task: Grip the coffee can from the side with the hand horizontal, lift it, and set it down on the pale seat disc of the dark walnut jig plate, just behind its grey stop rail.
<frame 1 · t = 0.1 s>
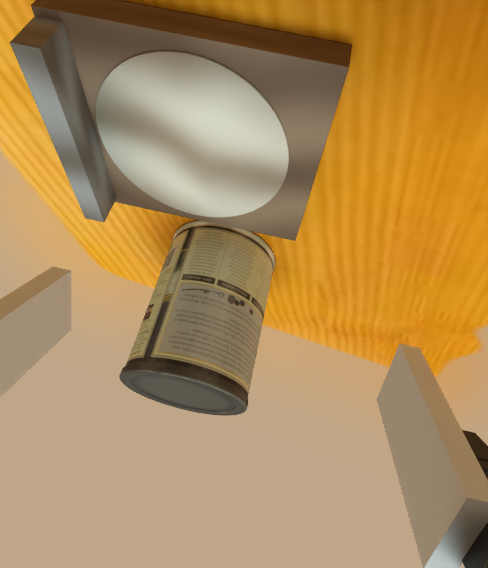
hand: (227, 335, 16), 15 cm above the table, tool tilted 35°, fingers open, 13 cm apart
jig plate: (201, 129, 26), on the table
coffee can: (224, 252, 38), on the table
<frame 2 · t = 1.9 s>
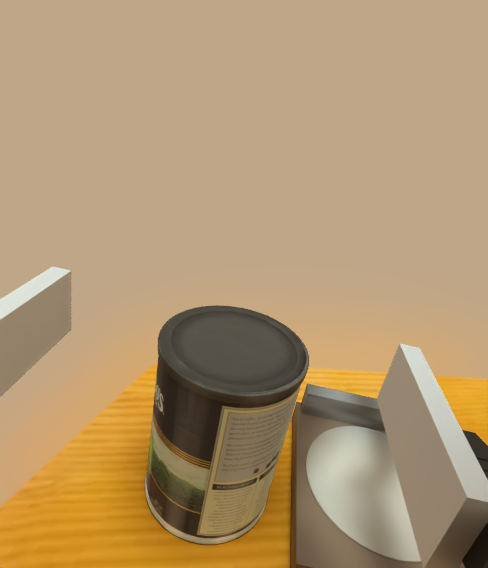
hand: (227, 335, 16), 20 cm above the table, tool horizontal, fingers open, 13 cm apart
jig plate: (371, 499, 34), on the table
coffee can: (207, 484, 33), on the table
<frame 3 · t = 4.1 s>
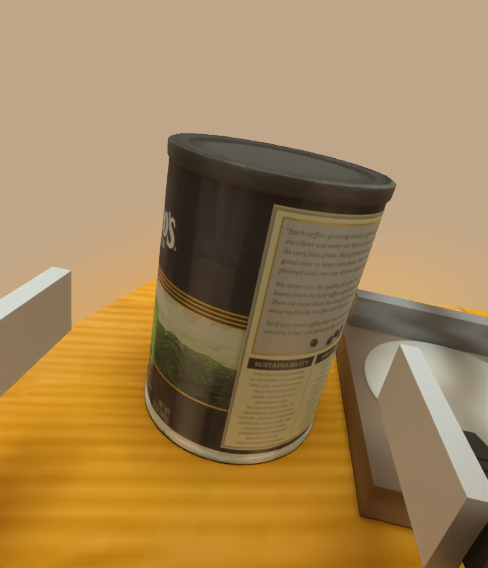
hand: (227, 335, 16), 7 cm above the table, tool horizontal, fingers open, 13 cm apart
jig plate: (452, 425, 25), on the table
coffee can: (230, 397, 24), on the table
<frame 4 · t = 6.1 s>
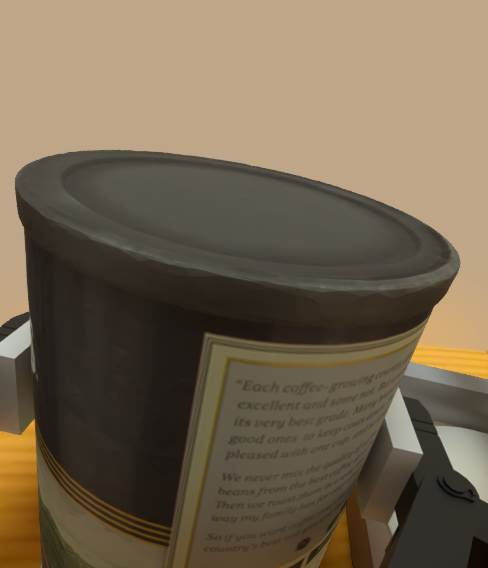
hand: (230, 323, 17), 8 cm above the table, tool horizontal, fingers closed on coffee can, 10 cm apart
coffee can: (182, 542, 16), on the table, touching gripper
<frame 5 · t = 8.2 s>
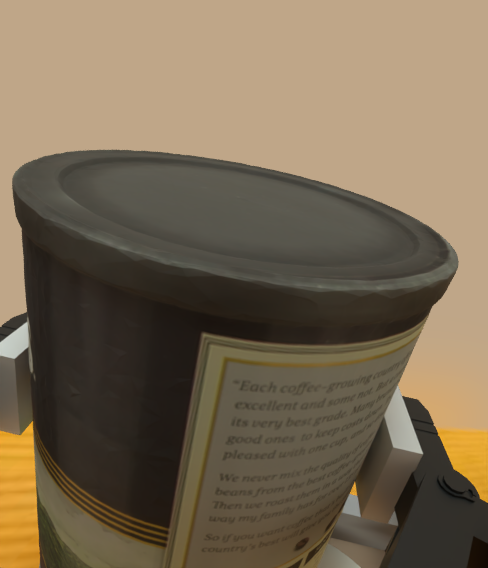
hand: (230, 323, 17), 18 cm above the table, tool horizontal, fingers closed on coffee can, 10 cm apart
coffee can: (181, 542, 16), point 10 cm above the table, touching gripper
when the fingers open (11 cm above the table, at t = 10.6 s): coffee can drops 1 cm, resting on jig plate.
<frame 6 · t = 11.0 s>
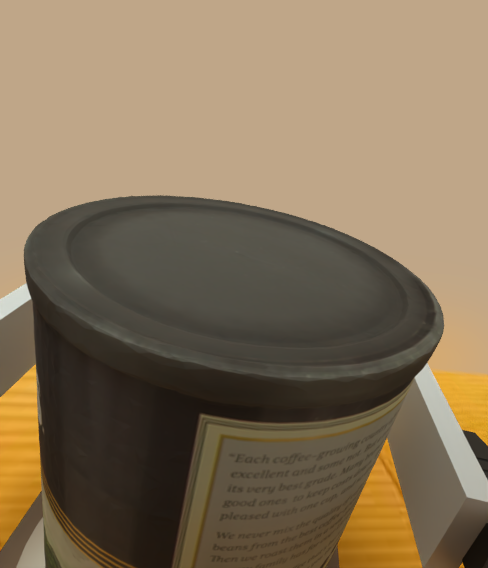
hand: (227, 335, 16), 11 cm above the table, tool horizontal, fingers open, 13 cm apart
coffee can: (181, 567, 16), point 2 cm above the table, touching jig plate
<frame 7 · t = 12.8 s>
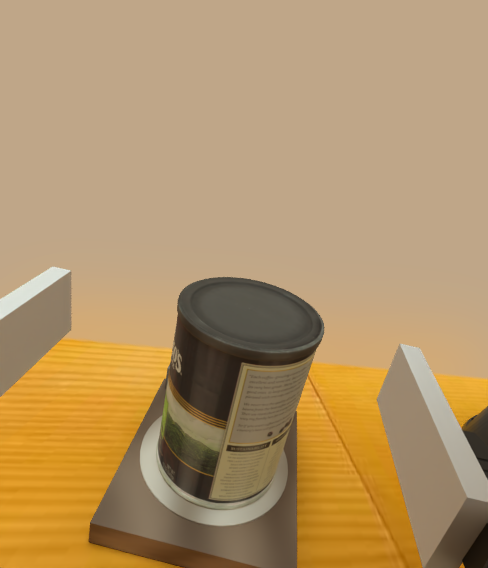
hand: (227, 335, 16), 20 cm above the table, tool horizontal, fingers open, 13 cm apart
jig plate: (211, 472, 34), on the table
coffee can: (217, 456, 33), point 2 cm above the table, touching jig plate
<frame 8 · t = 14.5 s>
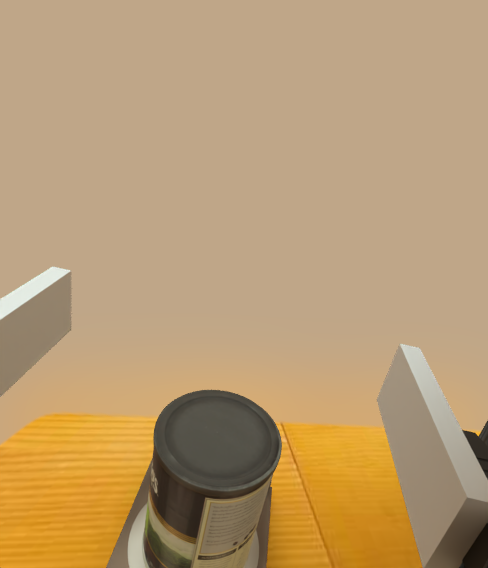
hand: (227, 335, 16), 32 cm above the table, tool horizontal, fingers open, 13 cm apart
jig plate: (192, 554, 39), on the table
coffee can: (196, 543, 38), point 2 cm above the table, touching jig plate
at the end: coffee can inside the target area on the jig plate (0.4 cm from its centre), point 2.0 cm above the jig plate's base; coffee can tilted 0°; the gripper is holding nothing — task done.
